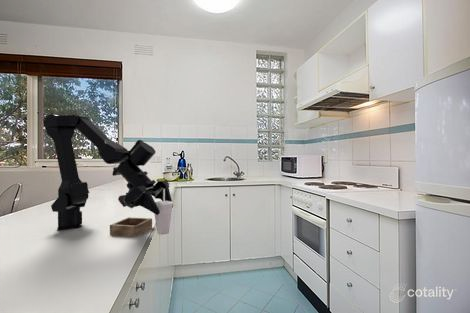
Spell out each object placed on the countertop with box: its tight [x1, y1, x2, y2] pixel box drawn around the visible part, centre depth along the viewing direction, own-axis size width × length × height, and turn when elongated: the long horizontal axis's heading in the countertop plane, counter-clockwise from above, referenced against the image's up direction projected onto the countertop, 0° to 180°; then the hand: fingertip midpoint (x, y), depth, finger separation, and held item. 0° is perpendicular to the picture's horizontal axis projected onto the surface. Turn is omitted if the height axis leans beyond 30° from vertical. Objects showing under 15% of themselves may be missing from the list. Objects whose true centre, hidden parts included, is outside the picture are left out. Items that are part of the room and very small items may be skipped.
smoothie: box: [154, 189, 174, 236], centre depth 75 cm, size 6×6×14 cm
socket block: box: [109, 216, 153, 237], centre depth 77 cm, size 9×9×3 cm
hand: (166, 210), depth 75 cm, fingers open, 9 cm apart
